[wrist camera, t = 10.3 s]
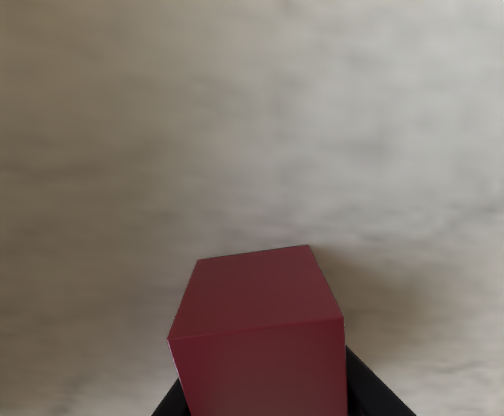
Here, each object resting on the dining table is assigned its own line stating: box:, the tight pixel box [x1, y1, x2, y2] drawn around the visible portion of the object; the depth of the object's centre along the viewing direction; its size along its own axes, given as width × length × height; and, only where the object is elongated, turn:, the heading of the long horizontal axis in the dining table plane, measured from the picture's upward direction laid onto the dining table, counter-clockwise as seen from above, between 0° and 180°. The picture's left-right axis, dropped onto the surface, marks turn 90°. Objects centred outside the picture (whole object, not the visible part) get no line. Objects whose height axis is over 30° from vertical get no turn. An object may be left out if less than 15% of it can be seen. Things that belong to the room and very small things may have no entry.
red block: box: [167, 245, 348, 416], centre depth 8 cm, size 6×4×3 cm, turn 9°
